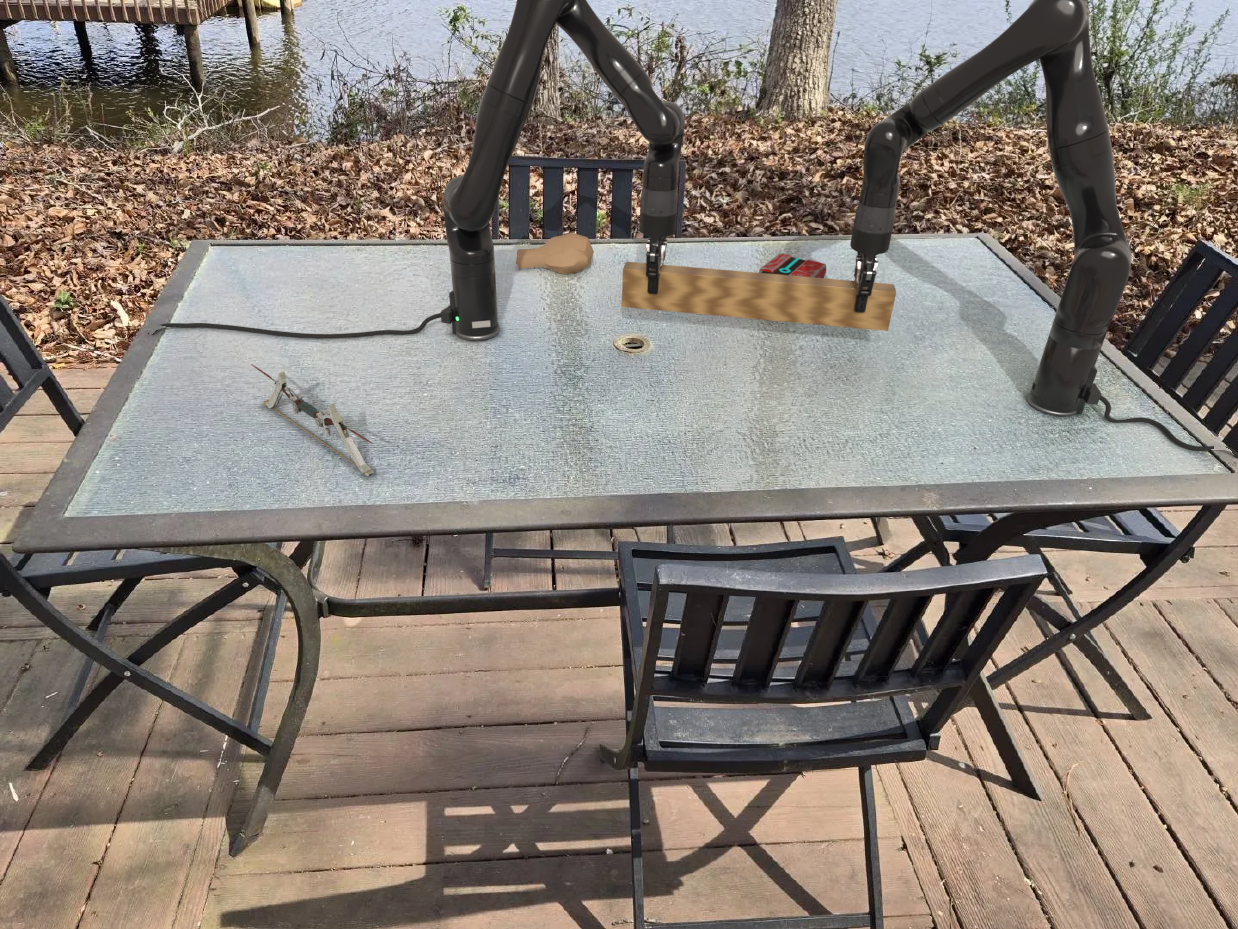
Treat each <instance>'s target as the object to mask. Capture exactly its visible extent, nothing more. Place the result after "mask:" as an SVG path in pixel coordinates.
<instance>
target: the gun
mask: <svg viewBox="0 0 1238 929" xmlns="http://www.w3.org/2000/svg"><path fill="white" fill-rule="evenodd" d="M758 273H767V274H779V275H791V276H802V277H814V278H825V276H826V273H827V264H826V263H823V262H820V261H816V260H812V259H802V258H799V257H795V256H793V255H792V254H791V253H784V252H780V253H778V254H777V255H775V256H774V257H773V258H771V259H770V260H768V261H767V262H766V263H765V264H763V265H762V266H761V267H760V269H759V271H758Z"/></svg>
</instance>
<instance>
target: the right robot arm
mask: <svg viewBox="0 0 1238 929" xmlns="http://www.w3.org/2000/svg"><path fill="white" fill-rule="evenodd" d="M1089 11H1090V10H1089V4H1088V1H1087V0H1033V1H1031V3H1030V4H1029V5H1028V7H1027V9H1026V10H1024V11H1023V13H1021V15H1019V16H1018V17H1017V19H1016V20H1014V22H1012V24H1010V26H1008V27H1007V28H1006V29H1005V30H1004V31H1003V32H1002V33H1001V34H999V35H998V36H997V37H996V38H995V39H994V40H993V41H991V42H990V43H989V44H988V45H986V46H985V47H984V48H982V49H981V50H979V51H978V52H977V53H975V54H974V55H972V56H970V57H968V58H967V59H966V60H964V61H962V62H961V63H960V64H958V65H956V66H955V67H953V68H952V69H950V70H949V71H947V72H946V73H944V74H943V75H941V76H940V77H938V78H937V79H936V80H934V81H933V82H931V84H929V85H928V86H926V87H925V88H924V89H923V90H921V91H920V92H918V93H917V94H916V95H915V96H914V97H913V98H912V99H911V101H909V102H908V103H906V104H904V105H903V106H902V107H899V109H897V110H895V111H894V112H892V113H891V114H890V115H888V116H886V117H885V118H884V119H882V120H881V121H879V122H878V123H876V124H875V125H873V127H871V129H870V130H869V131H868V133H867V136H866V139H865V143H864V149H863V166H862V167H863V170H862V171H863V177H862V182H861V187H860V192H859V199H858V203H857V207H856V210H855V216H854V220H853V226H852V232H851V239H850V244H849V245H850V248H851V249H852V250H853V251H855V252H856V253H857V254H856V257H855V266H854V271H853V273H854V274H853V278H854V280H853V281H856V282H857V283H858V287H857V291H856V293H857V295H856V301H855V307H854V311H855V312H861V313H863V312H865V310H866V305H867V299H868V296H871V294H872V288H873V284H874V283H875V279H876V276H877V269H878V265H879V261H878V260H877V259H878V258H877V257H878V255H882V254H885V253H887V252H888V251H889V249H890V246H891V240H892V236H893V231H894V230H893V229H894V225H895V220H896V209H897V208H896V207H897V203H898V197H899V191H900V186H901V179H900V175H899V170H900V163H901V158H902V155H903V153H904V152H905V151H906V150H907V149H909V148H910V147H911V146H913V145H914V144H915V143H917V142H918V141H920V139H922V138H923V137H924V136H926V135H927V134H928V133H929V132H932V131H934V130H937V129H938V128H940V127H941V126H943V125H944V124H946V123H947V122H949V121H950V120H952V119H953V118H954V117H956V116H957V115H958V114H960V113H962V112H963V111H964V110H965V109H968V107H970V106H971V105H972V104H974V103H975V102H976V101H977V100H979V99H980V98H981V97H982V96H984V95H985V94H986V93H988V92H989V91H990V90H992V89H993V88H995V87H996V86H997V85H998V84H1000V83H1001V82H1002V81H1004V80H1005V79H1007V78H1008V77H1010V76H1012V75H1013V74H1015V73H1016V72H1019V71H1020V70H1021V69H1023V68H1025V67H1027V66H1029V65H1031V64H1033V63H1034V62H1036V61H1039V62H1040V66H1041V71H1042V74H1043V78H1044V87H1045V128H1046V139H1047V146H1048V151H1049V156H1050V161H1051V166H1052V170H1053V171H1052V172H1053V173H1054V177H1055V180H1056V183H1057V186H1058V188H1059V190H1060V193H1061V195H1062V197H1063V199H1064V202H1065V203H1066V206H1067V209H1068V211H1069V215H1070V219H1071V225H1072V234H1073V247H1074V250H1073V251H1074V256H1073V259H1072V264H1071V267H1070V270H1069V273H1068V275H1067V278H1066V281H1065V284H1064V288H1063V291H1062V294H1061V298H1060V300H1059V303H1058V306H1057V308H1056V312H1055V315H1054V318H1053V322H1052V325H1051V328H1050V330H1049V334H1048V337H1047V339H1046V343H1045V346H1044V349H1043V352H1042V355H1041V358H1040V361H1039V365H1038V367H1037V370H1036V374H1035V376H1034V378H1033V380H1032V383H1031V387H1030V392H1029V394H1028V395H1027V402H1028V404H1029V405H1030V406H1031V407H1033V408H1034V409H1035V410H1037V411H1039V412H1041V413H1045V414H1047V415H1051V416H1058V417H1070V416H1074V415H1083V411H1084V409H1085V406H1086V404H1087V405H1094V406H1096V405H1097V406H1098V404H1099V402H1102V403H1103V404H1104V406H1105V411H1104V414H1103V416H1104V419H1105V420H1106V421H1107V422H1108V423H1112V424H1126V423H1127V424H1128V423H1131V424H1132V423H1147V424H1150V425H1152V426H1155V427H1157V428H1158V429H1160V430H1161V431H1162V432H1163V433H1164V435H1165V436H1167V437H1168V439H1169V440H1171V441H1172V442H1173V443H1174V444H1175V445H1177V446H1179V447H1181V448H1183V449H1186V450H1189V451H1195V452H1210V451H1209V450H1211V449H1214V446H1215V445H1204V446H1203V445H1200V446H1199V445H1193V444H1189V443H1186V442H1184V441H1182V440H1180V439H1179V438H1177V437H1176V436H1175V435H1174V434H1173V432H1171V431H1170V430H1169V428H1167V427H1166V426H1165V425H1164V424H1162V423H1161V422H1159V421H1157V420H1155V419H1153V418H1148V417H1143V416H1141V417H1131V418H1125V419H1115V418H1113V417H1112V416H1110V414H1111V411H1112V405H1111V403H1110V401H1109V400H1108V399H1107V398H1106V397H1104V395H1102V392H1101V391H1100V389H1099V387H1098V386H1097V383H1095V379H1096V376H1097V374H1098V369H1097V367H1096V364H1097V362H1098V358H1099V355H1100V352H1101V350H1102V347H1103V344H1104V342H1105V339H1106V336H1107V333H1108V331H1109V328H1110V325H1111V323H1112V321H1113V319H1114V318H1115V315H1116V312H1117V310H1118V307H1119V304H1120V302H1121V299H1122V296H1123V293H1124V291H1125V289H1126V285H1127V283H1128V280H1129V277H1130V274H1131V268H1132V260H1133V259H1132V251H1131V248H1130V245H1129V242H1128V239H1127V236H1126V233H1125V230H1124V227H1123V224H1122V220H1121V217H1120V213H1119V208H1118V204H1117V197H1116V196H1117V195H1116V175H1115V173H1116V172H1115V162H1114V154H1113V146H1112V141H1111V140H1112V139H1111V135H1110V129H1109V124H1108V119H1107V116H1106V111H1105V107H1104V103H1103V99H1102V95H1101V91H1100V89H1099V86H1098V82H1097V79H1096V75H1095V71H1094V66H1093V59H1092V49H1091V39H1090V38H1091V37H1090V36H1091V34H1090V13H1089ZM862 287H867V289H862ZM1224 446H1225V445H1224ZM1225 447H1226V448H1228V449H1230V450H1231V451H1232V453H1233V454H1234V456H1233V457H1234V459H1237V460H1238V451H1237V450H1235V449H1234V448H1232V447H1229V446H1225Z"/></svg>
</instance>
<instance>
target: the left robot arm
mask: <svg viewBox="0 0 1238 929" xmlns="http://www.w3.org/2000/svg"><path fill="white" fill-rule="evenodd" d="M555 25H556V26H558V27H559V28H560V29H561V30H562V31H563V32H564V33H566V35H567V36H568V37H569V38H570V39H571V40H572V41H573V42H574V43H575V45H576V46H577V47H578V48H579V50H580V51H581V53H582V54H583V55H584V57H585V58H586V60H587V61H588V63H589V64H590V65H591V67H592V68H593V70H594V71H595V73H596V74H597V75H598V77H599V78H600V79H601V80H602V82H603V83H604V84H605V85H606V87H607V88H608V89H609V90H610V91H611V92H612V94H613V95H614V96H615V97H616V99H617V100H619V102H620V103H621V104H622V105H623V107H624V108H625V110H626V112H627V114H628V116H629V117H630V119H631V121H632V123H633V124H634V126H635V127H636V129H637V130H638V132H639V133H640V135H641V136H642V137H643V138H644V139H645V141H647V142H648V151H647V154H646V157H645V159H644V162H643V166H642V167H643V169H642V186H641V193H640V206H639V228H638V229H639V231H640V233H641V234H643V235H645V236H648V238H647V241H646V246H645V250H646V253H645V256H646V259H645V263H646V277H648V290H647V292H648V293H649V294H657V293H658V286H659V276H660V266H662V265H665V263H664V262H665V260H666V255H667V247H668V239H667V238H668V237H671V236H673V235H674V234H676V231H677V222H678V221H677V220H678V207H679V206H678V204H679V193H678V192H679V191H678V188H679V172H680V171H679V168H680V157H681V152H682V148H683V142H684V136H685V127H686V118H685V114H684V111H683V110H682V108H681V107H680V106H679V104H677V103H676V102H673V101H670V100H665V101H662V100H661V98H660V97H659V96H658V94H657V93H656V92H655V90H654V89H653V81H652V79H651V78H650V76H649V74H648V73H647V71H645V69H644V68H643V67H642V65H640V63H639V62H638V61H637V60H636V58H634V56H633V55H632V54H631V53H630V51H629V50H628V49H627V48H626V47H625V46H624V45H623V44H622V42H621V41H620V40H618V39H617V37H616V36H615V35H614V34H613V33H612V31H610V29H608V27H607V26H606V25H605V24H604V23H603V21H602V20H601V19H600V18H599V17H598V15H597V14H596V12H595V11H594V10H593V8H592V7H591V5H590V4H589V2H588V0H516V3H515V7H514V10H513V15H512V17H511V22H510V26H509V29H508V30H507V33H506V36H505V39H504V41H503V44H502V45H501V48H500V50H499V52H498V55H497V57H496V60H495V62H494V65H493V67H492V70H491V73H490V75H489V77H488V80H487V83H486V84H485V89H484V91H483V94H482V97H481V100H480V103H479V107H478V110H477V114H476V120H475V128H474V136H473V145H472V151H471V154H470V158H469V161H468V164H467V166H466V168H465V172H464V173H463V174H462V175H458V176H455V177H453V178H452V179H450V180H449V182H448V183H447V184H446V186H445V187H444V191H443V195H442V204H443V206H442V208H443V216H444V227H445V237H446V242H447V248H448V252H449V263H450V264H449V265H450V275H451V276H450V277H451V286H452V290H451V291H450V292H448V297H449V305H448V306H446V307H445V308H443V309H442V310H441V311H440V312H439V313H434V314H432V315H430V316H427V317H426V318H425V319H424V320H423V321H422V322H421V324H420V325H419V326H418V327H416V328H412V329H407V330H402V329H401V330H400V329H399V330H398V329H382V330H372V331H361V332H347V333H345V332H344V333H306V332H305V333H304V332H292V331H281V330H273V329H264V328H255V327H248V326H241V325H233V324H232V325H231V324H223V323H222V324H220V323H208V322H189V323H188V322H187V323H186V322H184V323H183V322H181V323H180V322H168V323H162V324H161V323H160V325H161V326H166V327H170V328H169V329H173V328H175V329H176V328H177V329H178V328H179V329H180V328H181V329H182V328H183V329H189V328H191V329H192V328H206V329H219V330H230V331H239V332H246V333H247V332H248V333H254V334H263V335H269V336H270V335H271V336H279V337H288V338H300V339H302V338H303V339H349V338H362V337H363V338H364V337H365V338H366V337H373V336H383V335H396V336H397V335H399V336H406V335H407V336H408V335H414V334H418V333H420V332H421V331H423V330H424V329H425V327H426V326H427V325H428V323H430V322H432V321H434V320H436V319H440V321H441V322H440V323H442V324H445V325H446V324H447V325H451V332H452V334H453V335H456V336H457V337H458V338H460V339H462V340H464V341H470V342H479V341H481V342H482V341H486V340H487V341H488V340H491V339H493V338H494V337H495V338H496V337H497V335H499V333H500V325H499V312H498V311H499V310H498V296H497V295H498V294H497V293H498V292H497V276H496V275H497V274H496V261H495V259H496V258H495V245H494V241H493V237H492V232H491V225H490V224H491V223H490V222H491V220H492V219H493V217H494V215H495V211H496V208H497V204H498V199H499V196H500V191H501V189H502V184H503V180H504V177H505V174H506V171H507V168H508V166H509V163H510V161H511V159H512V156H513V155H514V152H515V149H516V147H517V144H518V142H519V139H520V137H521V134H522V132H523V129H524V127H525V125H526V122H527V120H528V117H529V115H530V112H531V110H532V106H533V104H534V102H535V98H536V96H537V92H538V86H539V82H540V78H541V72H542V65H543V60H544V55H545V51H546V48H547V44H548V42H549V39H550V37H551V35H552V33H553V31H554V28H555ZM651 268H652V269H656V271H651ZM158 331H159V330H157V331H156V332H158Z"/></svg>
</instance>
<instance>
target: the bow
mask: <svg viewBox="0 0 1238 929" xmlns="http://www.w3.org/2000/svg"><path fill="white" fill-rule="evenodd" d="M250 365H251V366H252V367H253V368H255V369H256V370H257V371H259V373H261V374H263V375H264V376H266V377H267V378H269V379H270V380H272V381H273V382H274V390H273V391H272V392H271V394H270V396H269V398H268V399H265V400H263V401H262V403H263V406H264V407H266V408H267V409H273V410H274V411H276V412H277V413H278V414H280V415H281V416H283V417H285V419H287V420H289V421H290V422H292V423H293V424H295V425H296V426H297V427H299V428H301V429H302V430H304V431H305V432H306V433H307V434H309V435H311V436H312V437H313V438H315V439H316V440H318V441H319V442H320V443H322V444H324V445H325V446H326V447H328V448H329V449H330V450H332V451H334V452H335V453H337V454H338V455H340V456H341V457H342V458H343V459H345V460H347V461H348V462H349V463H351V464H352V465H354V466H355V467H357V468H358V470H359V471H360V472H361V473H362V475H364V476H367V477H370V475H373V474H375V473H374V471H373V469H372V468H371V467H370V466H368V464H367V463H366V462H365V460H364V458H363V456H362V454H361V452H360V451H359V448H358V447H357V445H356V443H355V441H354V440H353V438H352V436H351V434H350V432H351V433H353V434H354V435H356V436H357V437H358V438H360V439H362V440H363V441H365V442H367V443H369V444H373V442H372V441H371V440H369V439H368V438H366V437H365V436H363V434H360V433H359V432H357V431H355V430H353V429H351V428H349V427H348V426H347V425H346V423H345V421H344V419H343V417H342V416H341V414H340V413H339V411H338V409H337V407H336V405H335V403H334V402H333V403H331V404H328V405H327V406H328V411H327V409H324V410H321V411H319V409H318V408H317V407H316V406H314V405H312V404H311V403H310V402H308V401H305V400H304V399H303V398H304V397H303V394H302V393H298V394H297V393H296V392H295V391H294V390H293V389H292V388H290V387H288V386H287V385H288V381H287V375H286V372H285V371H283V372H280V373H278V375H277V379H276V380H275V379H274V378H273V377H271V375H269V374H268V373H267V372H265V371H263V369H261V368H259V367H257V366H256V365H254V364H253V363H251V364H250ZM283 394H284V395H285V396H286V398H288V399H289V401H290V402H289V403H290V404H291V407H292V410H291V411H292V414H293V415H294V416H296V415H298V414H302V412H303V413H304V414H306V415H308V416H309V417H311V418H312V419H315V424H316V426H317V427H319V428H321V429H323V433H324V436H325V437H326V438H328V437H330V436H333V435H334V433H333V430H332V426H334V427H335V428H336V431H337V432H338V434H339V436H340V438H341V440H342V443H343V444H344V446H345V449H346V450H347V452H348V453H349V455H350V456H351V459H352V460H353V461H352V460H350V459H349V458H348V457H346V456H344V455H343V454H342V453H340V452H339V451H338V450H336V449H334V447H332V446H330V445H328V444H327V443H325V442H324V441H323V440H321V439H320V438H318V437H317V436H315V435H314V434H313V433H311V432H310V431H309V430H307V429H305V428H304V427H303V426H301V425H300V424H298V423H297V422H295V421H294V420H292V419H291V418H289V417H288V416H286V415H285V414H284V413H282V412H281V411H279V410H278V409H276V406H278V405H279V404H280V401H281V400H282V397H283Z"/></svg>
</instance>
